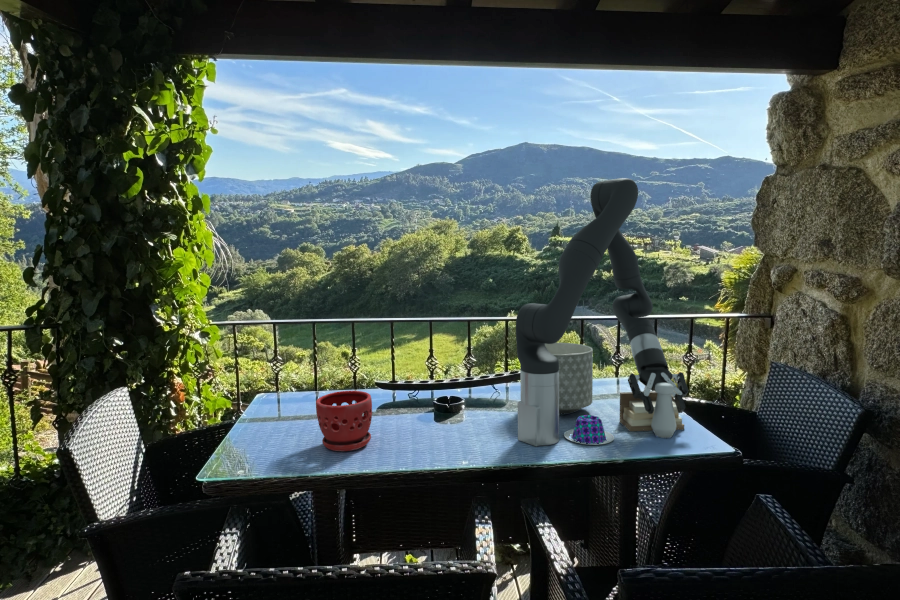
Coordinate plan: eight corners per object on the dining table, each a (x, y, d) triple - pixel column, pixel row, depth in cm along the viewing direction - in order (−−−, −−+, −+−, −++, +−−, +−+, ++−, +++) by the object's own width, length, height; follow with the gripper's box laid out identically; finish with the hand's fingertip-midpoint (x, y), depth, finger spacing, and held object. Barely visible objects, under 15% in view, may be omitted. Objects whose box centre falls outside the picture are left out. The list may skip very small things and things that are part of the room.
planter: (595, 421, 148) (596, 354, 146) (524, 419, 151) (523, 354, 149) (589, 402, 166) (589, 342, 165) (525, 400, 169) (525, 342, 168)
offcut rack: (684, 429, 140) (685, 398, 139) (630, 431, 140) (630, 400, 139) (671, 420, 148) (671, 390, 147) (619, 421, 147) (619, 392, 147)
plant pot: (330, 435, 141) (328, 389, 140) (379, 437, 139) (378, 390, 137) (308, 454, 128) (306, 403, 127) (363, 456, 126) (361, 405, 125)
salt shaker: (679, 439, 133) (681, 386, 132) (655, 439, 133) (656, 386, 132) (670, 431, 139) (671, 380, 138) (647, 431, 139) (648, 380, 138)
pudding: (600, 429, 143) (601, 409, 142) (623, 445, 131) (623, 423, 130) (556, 432, 141) (556, 412, 140) (575, 449, 129) (575, 427, 128)
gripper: (624, 347, 142) (642, 405, 131) (679, 346, 142) (701, 403, 131) (617, 363, 147) (633, 420, 137) (670, 362, 148) (690, 418, 137)
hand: (666, 411), depth 134 cm, fingers open, 7 cm apart
